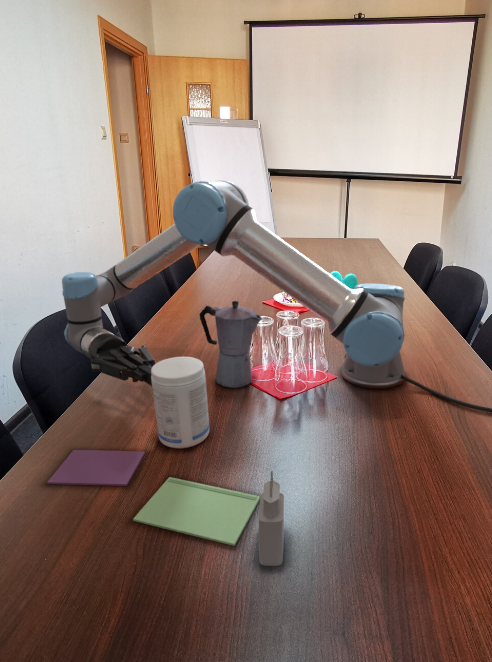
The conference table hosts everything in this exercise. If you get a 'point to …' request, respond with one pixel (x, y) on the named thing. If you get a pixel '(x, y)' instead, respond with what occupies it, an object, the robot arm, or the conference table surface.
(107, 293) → the robot arm
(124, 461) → the plum cloth
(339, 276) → the turquoise yo-yo
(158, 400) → the supplement tub
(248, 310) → the moka pot
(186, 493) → the sage cloth
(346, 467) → the conference table surface
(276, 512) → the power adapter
